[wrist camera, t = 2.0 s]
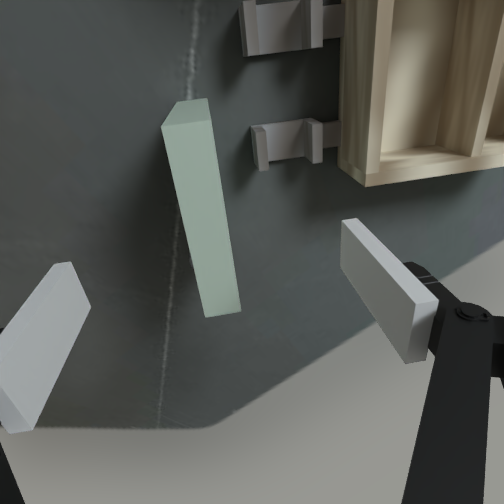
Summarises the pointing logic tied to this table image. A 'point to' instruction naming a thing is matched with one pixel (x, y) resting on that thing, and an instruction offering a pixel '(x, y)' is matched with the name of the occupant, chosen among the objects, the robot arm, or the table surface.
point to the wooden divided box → (392, 85)
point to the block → (202, 204)
